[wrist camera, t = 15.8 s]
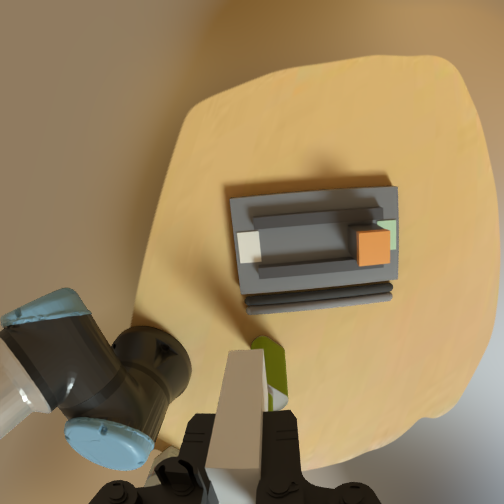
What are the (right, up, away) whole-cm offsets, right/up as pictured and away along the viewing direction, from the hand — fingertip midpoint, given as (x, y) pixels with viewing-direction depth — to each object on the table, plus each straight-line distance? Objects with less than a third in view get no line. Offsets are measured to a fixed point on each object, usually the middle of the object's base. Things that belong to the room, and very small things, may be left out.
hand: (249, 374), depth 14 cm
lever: (+16, +8, +31) cm, 35 cm away
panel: (+10, +8, +33) cm, 35 cm away
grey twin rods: (+11, -2, +35) cm, 37 cm away
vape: (+3, -10, +38) cm, 40 cm away
